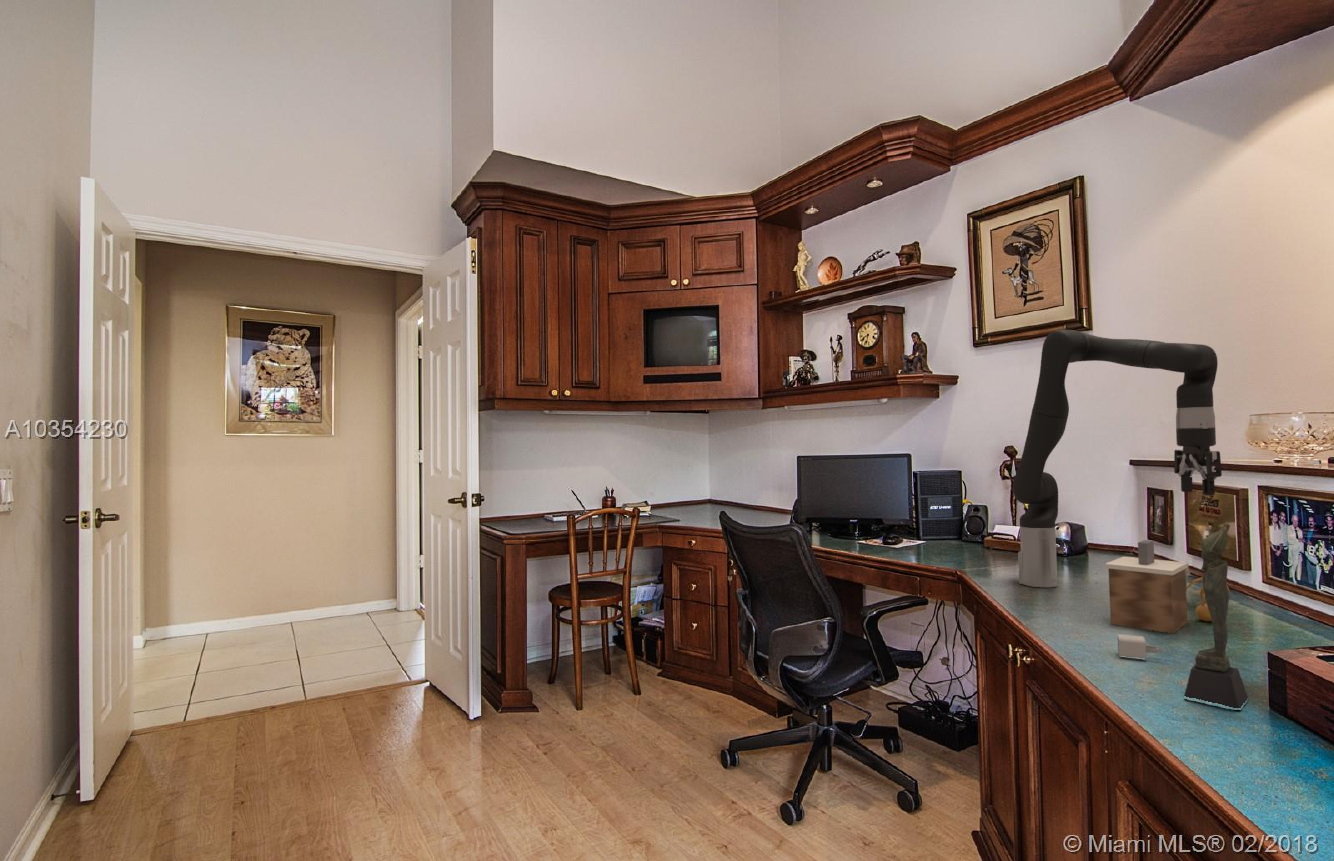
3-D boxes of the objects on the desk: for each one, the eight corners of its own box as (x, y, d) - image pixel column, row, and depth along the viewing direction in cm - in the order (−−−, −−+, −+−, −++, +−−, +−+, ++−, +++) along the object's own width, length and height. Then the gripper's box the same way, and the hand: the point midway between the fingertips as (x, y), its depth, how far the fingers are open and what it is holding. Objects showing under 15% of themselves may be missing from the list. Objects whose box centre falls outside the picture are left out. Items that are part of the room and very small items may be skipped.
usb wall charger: (1118, 652, 138) (1117, 633, 138) (1160, 657, 135) (1159, 637, 135) (1119, 658, 135) (1118, 638, 135) (1162, 663, 131) (1161, 642, 131)
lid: (1105, 572, 159) (1104, 542, 159) (1123, 564, 167) (1122, 536, 167) (1172, 579, 149) (1171, 548, 149) (1188, 571, 157) (1187, 541, 158)
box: (1110, 623, 159) (1108, 567, 159) (1127, 614, 166) (1125, 560, 167) (1172, 633, 150) (1170, 574, 150) (1187, 623, 157) (1185, 567, 157)
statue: (1193, 688, 118) (1186, 516, 119) (1249, 700, 112) (1241, 519, 113) (1182, 699, 113) (1175, 520, 114) (1240, 712, 108) (1232, 523, 108)
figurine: (1225, 620, 159) (1223, 568, 159) (1235, 627, 153) (1233, 573, 153) (1182, 617, 162) (1180, 567, 162) (1190, 624, 156) (1188, 572, 157)
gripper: (1161, 427, 172) (1163, 491, 172) (1196, 426, 158) (1198, 496, 158) (1194, 426, 171) (1196, 490, 170) (1232, 425, 156) (1234, 496, 156)
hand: (1197, 493), depth 164 cm, fingers open, 8 cm apart
